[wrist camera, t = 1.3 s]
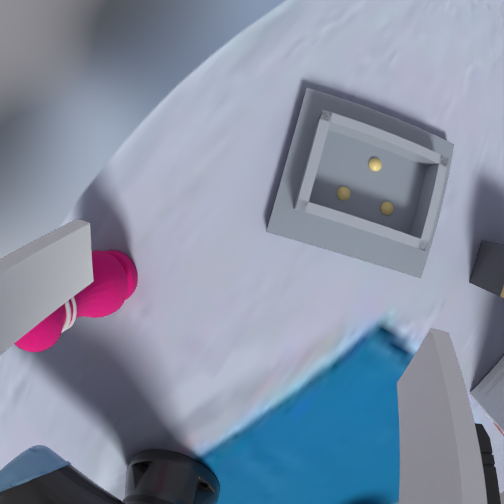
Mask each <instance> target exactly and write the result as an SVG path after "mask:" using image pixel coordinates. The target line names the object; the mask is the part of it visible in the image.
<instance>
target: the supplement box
mask: <svg viewBox="0 0 504 504" xmlns="http://www.w3.org/2000/svg"><path fill="white" fill-rule="evenodd" d="M470 394H471V396H472V397H473V398H474V400H475V401H476V402H477V404H478V405H479V406H480V408H481V409H482V410H483V411H484V413H485V414H486V415H487V416H488V418H489V419H490V420H491V421H492V423H493V424H494V425H495V426H496V427H497V429H498V430H499V431H500V432H501V433H502V434H503V436H504V356H503V357H502V358H501V360H500V361H499V362H498V363H497V364H496V365H495V367H494V368H493V369H492V370H491V371H490V372H489V373H488V374H487V375H486V376H485V378H484V379H483V380H482V381H481V382H480V383H479V384H478V385H477V386H476V387H475V388H474V389H473V390H472V391H471V392H470Z"/></svg>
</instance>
